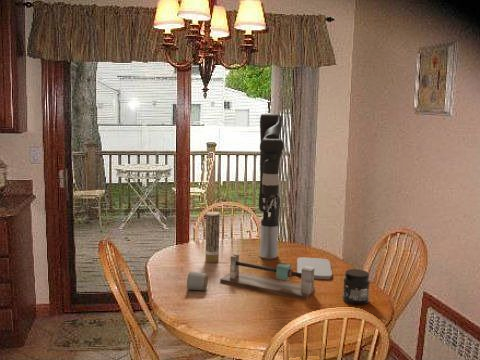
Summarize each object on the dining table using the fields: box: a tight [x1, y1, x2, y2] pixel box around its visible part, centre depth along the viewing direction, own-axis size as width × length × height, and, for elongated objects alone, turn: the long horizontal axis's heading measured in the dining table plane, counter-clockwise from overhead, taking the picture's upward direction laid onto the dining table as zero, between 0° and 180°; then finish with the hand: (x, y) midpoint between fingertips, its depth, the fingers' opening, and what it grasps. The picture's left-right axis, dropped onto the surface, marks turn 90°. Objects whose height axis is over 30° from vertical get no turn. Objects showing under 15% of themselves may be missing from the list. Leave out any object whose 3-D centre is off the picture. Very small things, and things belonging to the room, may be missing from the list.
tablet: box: [296, 256, 333, 280], centre depth 225 cm, size 16×26×2 cm, turn 173°
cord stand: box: [219, 253, 316, 301], centre depth 201 cm, size 12×40×12 cm, turn 64°
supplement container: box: [342, 268, 371, 306], centre depth 188 cm, size 10×10×12 cm
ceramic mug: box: [186, 270, 209, 291], centre depth 197 cm, size 11×8×8 cm
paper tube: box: [204, 211, 221, 264], centre depth 232 cm, size 7×7×25 cm
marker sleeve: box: [275, 262, 292, 281], centre depth 197 cm, size 5×5×6 cm
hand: (269, 218), depth 208 cm, fingers open, 8 cm apart
